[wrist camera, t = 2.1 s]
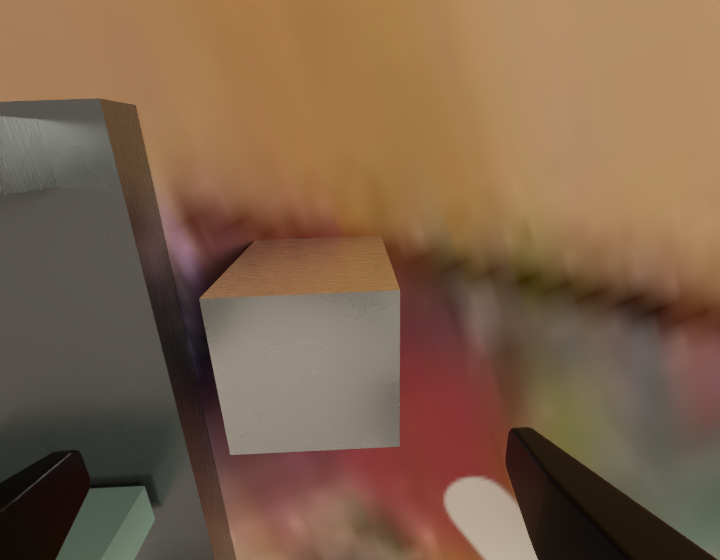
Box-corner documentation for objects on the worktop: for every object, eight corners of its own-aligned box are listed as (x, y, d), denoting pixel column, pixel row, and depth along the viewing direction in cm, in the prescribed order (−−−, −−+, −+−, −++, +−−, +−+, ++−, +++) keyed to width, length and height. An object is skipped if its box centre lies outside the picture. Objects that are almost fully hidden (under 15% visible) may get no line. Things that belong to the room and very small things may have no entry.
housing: (380, 234, 15) (399, 290, 9) (381, 343, 17) (399, 446, 11) (255, 239, 15) (198, 298, 9) (270, 349, 17) (230, 455, 11)
